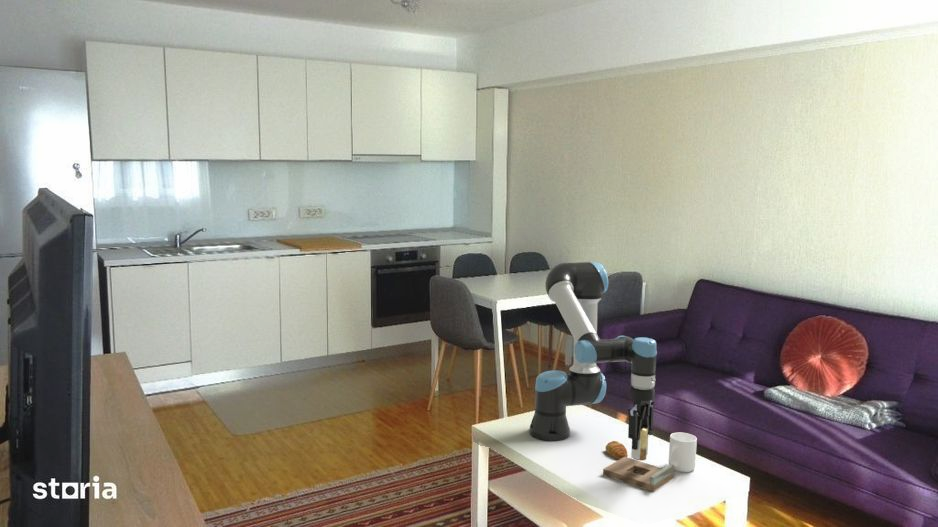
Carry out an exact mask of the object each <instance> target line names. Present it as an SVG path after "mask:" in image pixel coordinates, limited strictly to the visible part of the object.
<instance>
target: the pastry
mask: <svg viewBox="0 0 938 527" xmlns="http://www.w3.org/2000/svg"><path fill="white" fill-rule="evenodd" d="M605 452H606V453H607V455H609V456H610V457H612V458H613V459H616V460H620V459H621V458H623V457H627V458H628V456H629V455H628V451H627V448H626V447H625V445H624V444H623V443H620V442H619V441H617V440H612V441H610V442H608V443H607V444H606V446H605Z"/></svg>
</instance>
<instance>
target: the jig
mask: <svg viewBox="0 0 938 527" xmlns="http://www.w3.org/2000/svg"><path fill="white" fill-rule="evenodd" d="M635 472H637V473H635ZM638 473H639V474H638ZM641 474H642V475H641ZM602 475H603V476H606V477H609V478H611V479H614V480H618V481H621V482H623V483H627V484H629V485H632V486H636V487H638V488H641V489H644V490H647V491H650V492H655V491H656V490H658V489H660V488H661V487H662V486H664V485H665V484H667V483H668V482H670V481H671V480H673V479H674V478H675V470H674V465H673V464H669V463H668V465H666V466H665V467H663V468H662V467H660V466H656V465H652V464H649V463H646V462H643V461H640V460H635V459H633V458H630V457H628V456H627V457H623V458H621V459H617V460H616V461H614V462H612V463H611V464H609V465H607V466H606V467H604V468H602Z"/></svg>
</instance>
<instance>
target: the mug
mask: <svg viewBox="0 0 938 527" xmlns="http://www.w3.org/2000/svg"><path fill="white" fill-rule="evenodd" d="M697 441H698V438H697V437H696V435H693V434H691V433H687V432H681V431H680V432H673V433H671V434H670V436H669V446H668V447H669V451H668V465H669V464H673V465H674V471H676V472H678V473H679V472H680V473H689V472H692V471H695V468H696V462H697V461H696V458H697V457H696V455H697V443H698V442H697Z"/></svg>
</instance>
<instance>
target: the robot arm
mask: <svg viewBox="0 0 938 527" xmlns="http://www.w3.org/2000/svg"><path fill="white" fill-rule="evenodd" d="M544 286H545V287H544V288H545V291H546V295H547V296H548V298H549V300H550V301H552V302H554V303H555V305H556V307H557V309H558V311H559V312H560V314H561V317H562V319H563V320H564V322H565V324H566V326H567V328H568V330H569V331H570V332H569V333H570V334H571V336H572V337H573V363H572V365H571V366H570V367H569V368H568V369H569V371H568V372H569V373H568V374H567V372H565V371H564V370H560V369H559V370H555V369H554V370H553V369H552V370H547V371H544V372H541V373H539V374H538V375H537V377H536V378H535V386H534V390H535V391H534V414H533V416H532V420H531V422H530V425H529V435H530V436H532V437H533V438H535V439H537V440H542V441H547V442H549V441H550V442H555V441H563V440H566V439H568V438H569V437H570V435H571V429H570V428H571V427H570V425H569V422H568V419H567V415H566V414H567V407H572V406H573V407H574V406H583V405H586V406H591V405H593V404H599V403H600V402H602V401H603V400H604V397H605V396H606V393H607V381H606V378H605V375H604V374H603V373H602V372H601V369H600V367H599V366H598V365H597V364H601V363H602V364H603V363H616V362H618V363H619V362H626V363H630V365H631V371H630V372H631V373H630V375H631V376H630V385H631V386H630V390H629V391H630V394H629V395H630V398H631V399H632V400H633V404H632V409H631V408H629V409H628V412H627V413H628V428H627V429H628V430H627V431H628V434H627V435H628V436H627V437H628V439H631V459H633V458H635V459H638V460H637V461H640V460H639V459H640V446H641V440H640V439H639V438H640V431H641V426H644V427H647V428H648V435H647V454H648V453H649V452H648V450H649V436H652V432H653V424H654V410H655V409H654V408H655V401H653V400H654V399H655V385H656V368H657V354H658V351H657V341H656V340H655V339H653V338H649V337H645V336H644V337H635V338H634V339H633V338H632V337H630V336H626V335H618V336H617V337H615V338H611V339H610V338H609V339H608V338H605V339H601V338H600V336H599V335H598V303H599V302H600V301H601V300H602V297H603V296H602V295H603V294H604V293H606V292H608V288H609V278H608V272H607V270H606V269H605V267H604V265H602V264H601V263H599V262H594V261H593V262H592V261H584V262H583V261H581V262H580V261H579V262H562V263H558V264H556V265H555V266H553V267H552V268H551V269H550V271H549V272H548V274H547V276H546V277H545V285H544ZM635 459H634V460H635Z"/></svg>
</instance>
